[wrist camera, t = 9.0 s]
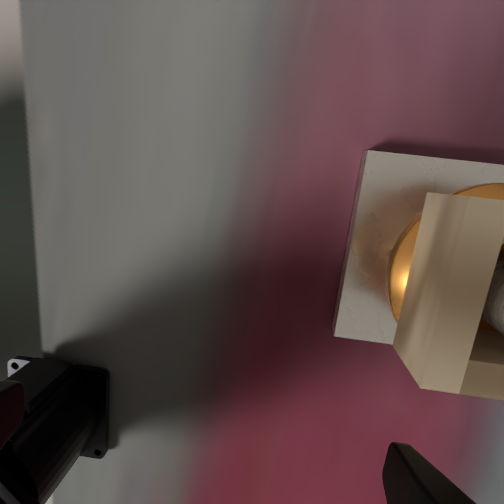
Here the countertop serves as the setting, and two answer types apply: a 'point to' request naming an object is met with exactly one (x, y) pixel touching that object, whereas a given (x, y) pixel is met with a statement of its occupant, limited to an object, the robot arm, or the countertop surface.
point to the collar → (453, 298)
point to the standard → (403, 238)
